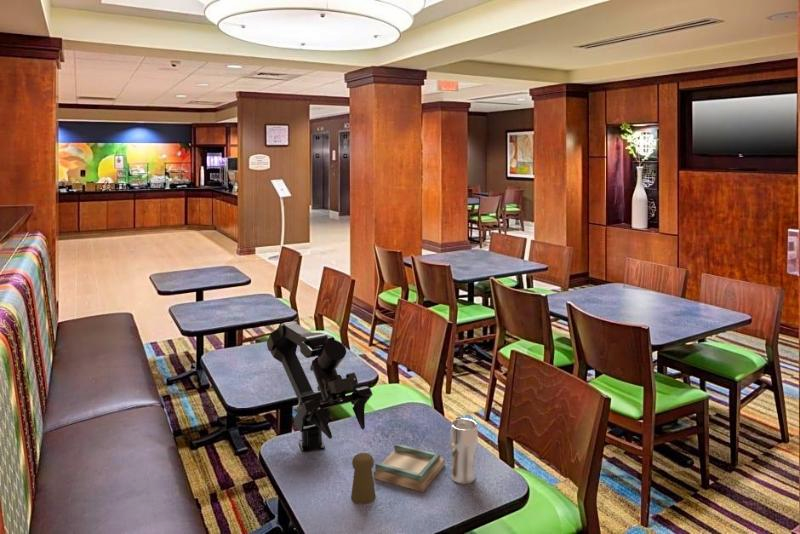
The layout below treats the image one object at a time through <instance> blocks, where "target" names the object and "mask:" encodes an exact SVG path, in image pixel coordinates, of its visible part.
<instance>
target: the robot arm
mask: <svg viewBox="0 0 800 534" xmlns="http://www.w3.org/2000/svg"><path fill="white" fill-rule="evenodd" d="M277 327H278V328H276V329H275V330H273V331H272V332H271V333H270V334H269V336H268V338H267V341H266V346H267V350H268V351H269V352H270V354H271V356H272V357H273V358H274V360H276V361H278V362H280V363H281V364H282V366H283V368H284V371H285V372H286V376H287V378H288V380H289V383H290V384H291V386H292V389H293V391H294V393H295V396H296V398H297V400H298V405H297V409H296V414H295V416H294V417H293V424H294V427H295V428H296V429H297V430H298V431H299V432H300V433H301V439H299V440H298V443H299V446H300V448H301V451H302V452H303V453H305V452H311V451H313V452H314V451H317V450H318V451H319V450H323V449H326V446H325V445H326V444H325V442H324V440H323V435H325V436H326V437H327V438H328V439H329V440H330V439H332V438H333V434H332V431H331V429H330V425H329V422H330V415H331V409H330V408H333V407H337V406H341V405H344V404H349V403H351V404H352V405H353V407H352V410H353V411H352V412H353V413H354V416H355V418H356V420H357V423H358V424H359V427H360V428H361V430H364V429H365V428H366V427H365V426H366V424H365V421H366V418H365V408H366V404H367V402H368V401H369V400H370V399H371V397H372V396H373V395H374V394H373V391H372V389H371V388H370V387H369V386H367V385H366V386H361V387H357V388H355V389H354V388H353V386H357V385H358V384H359V382H358V377H357V375H356V373H355V372H350V373H346V375H345V378H342V375H341V374H338V372H337V368H338V367H339V365H340V364H341V363H342V362H343V359H344V358H345V357H346V355H347V348H346V346H345V345H344V344H343V343H342V342H340V341H338V340H335V337H334V336H331V337H328V335H327V334H326V333H324V332H312V331H309V330H308V329H306V328H305V327H303V326H301V325H299V324H298V322H297V321H287V322H286V321H285V322H282V323H281V324H279V325H278V326H277ZM298 347H299V350H300V351H299V352H300V354H302V355H303V356H304V357H305V358H306V359H309V358H310V359H311V358H314V359H313V360H311V364H310V371H311V372H313V374H314V375H313V376H314V377H315V381H316V382H317V388H316V389H317V391H318V392H314V390H313V388H312V385H311V383H310V382H309V380H308V376H307V374H306V372H305V371H304V368H303V366H302V363H301V362H300V360H299V357H298V355H297V350H298ZM315 357H316V358H315ZM352 390H353V392H352V393H350V394H348V393H349V392H350V391H352ZM323 433H324V434H323Z"/></svg>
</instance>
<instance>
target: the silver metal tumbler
mask: <svg viewBox="0 0 800 534" xmlns="http://www.w3.org/2000/svg"><path fill="white" fill-rule="evenodd" d="M478 431H479V430H478V423H477V422H476V421H475V420H473V419H470V418H465V417H463V418H462V417H461V418H456V419H454V420H453V421H451V426H450V436H449V437H450V440H449V441H450V443H449V444H450V451H451V457H452V458H451V459H452V470H451V476H450V477H451V479H452V481H453V482H455V483H456V484H460V485H468V484H471V483H473V482H474V481H475V479H476V477H475V476H476V475H475V469H474V468H475V467H474V465H475V458H476V455H477V451H478V442H479V440H478V439H479V438H478V437H479V433H478Z"/></svg>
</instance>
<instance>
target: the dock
mask: <svg viewBox="0 0 800 534" xmlns="http://www.w3.org/2000/svg"><path fill="white" fill-rule="evenodd" d="M440 455H441V454H440V453H436V452H432V451H428V450H424V449H420V448H415V447H412V446H408V445H404V444H400V443H395V444H394V450H393V451H392V452H391V453H390V454H389V455H388V456H387V457H386V458H384V460H383V461H382V462H380V461H379V462H376V463H374V465H375V469H374V470H373V479H374V480H375V479H376V480H379V481H382V482H386V483H390V484H393V485H397V486H399V487H404V488H408V489H411V490H414V491H417V492H418V491H419V492H422V493H424V491H425V490H426V489H427V488H428V486H430V484H431V483H432V482H433V480H434V479H435V478H436V476H437V475H438V474H439V473H440V472H441V471H442V470H443V468H444V466H445V458H443V457H440Z"/></svg>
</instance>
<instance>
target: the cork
mask: <svg viewBox="0 0 800 534" xmlns="http://www.w3.org/2000/svg"><path fill="white" fill-rule="evenodd" d="M374 462H375V459H374V457H373V455H371V454H370V453H367V452H360V453H357V454H355V455H354V456H353V458H352V461H351V465H352V468H353V470H354V473H353V480H352V486H351V495H350V499H351V501H352V502H353V503H355V504H358V505H368V504H371V503H372V502H374V501H375V500H376V497H377V495H376V489H375V482H374V474H373V467H374V465H375V463H374Z"/></svg>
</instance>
